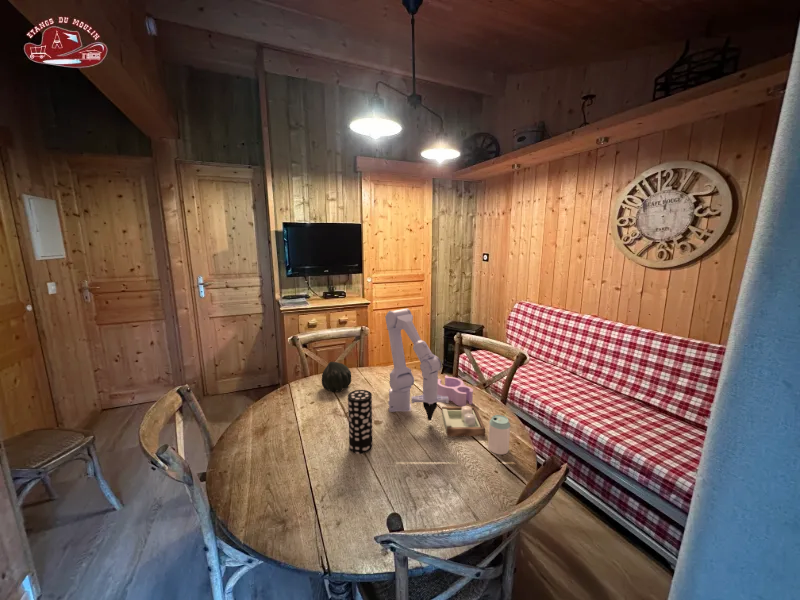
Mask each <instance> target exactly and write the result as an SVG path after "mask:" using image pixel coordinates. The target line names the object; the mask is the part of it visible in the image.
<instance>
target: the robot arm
mask: <svg viewBox="0 0 800 600" xmlns="http://www.w3.org/2000/svg"><path fill="white" fill-rule="evenodd" d="M413 320H414V315H413V314H412V311H411V310H410V309H409V308H407V307H406V308H402V309H395V310H389V311H388V312H387V313H386V315H385V324H386V329H387V331H388V337H389V338H388V339H389V344H390V351H391V357H392V358H391V359H392V362H393V368H392V370H391V371H390V372H389V381H388V382H389V387H390V388H388V389H389V391H388V403H387V404H388V412H389V413H396V412H411V411H412V405H411V404H415V403H422V404H423V408H424V410H425V413H426V415H427V421H432V418H433V415H434V413H435V410H436V409H437V407H438V403H445V404H449V399H448V397H447V396H439V395H437V388H438V379H439V371H440V370H441V369H442V362H441V361H442V360H441V359H440V358H439V357H438V356H437V355H435V354H434V353H433V352H432V351H431V349H430V347H429V346H428V344H427V342H426V341H425V340H422V338H421V337H420V335H419V332H418V330H417V328H416V327H415V324H414V323H413ZM402 330H404V332H405V333H406V335H407V337H408V338H409V340H410V341H411V342H412V343H413V348H412V349H413V351H414V353H415V355H416V357H417V358H418V360H419V363H420V364H419V367H420V371H421V376H422V394H420V395H413V396H412V395H411V389H412V386H414V384H415V377H414V375H413V371H412V369H411V368H409V367H407V364H406V357H405V352H404V351H405V350H404V345H403V344H404V343H403V339H402V338H403V337H402Z"/></svg>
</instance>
